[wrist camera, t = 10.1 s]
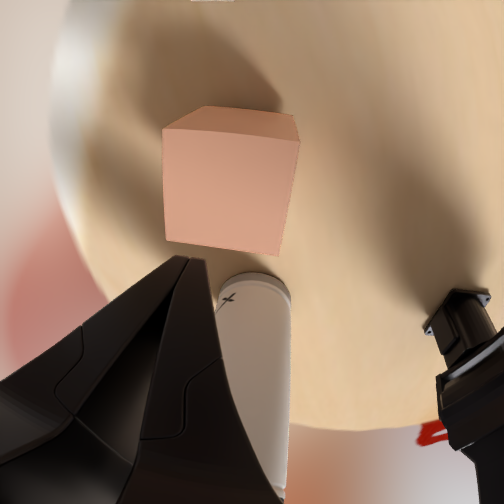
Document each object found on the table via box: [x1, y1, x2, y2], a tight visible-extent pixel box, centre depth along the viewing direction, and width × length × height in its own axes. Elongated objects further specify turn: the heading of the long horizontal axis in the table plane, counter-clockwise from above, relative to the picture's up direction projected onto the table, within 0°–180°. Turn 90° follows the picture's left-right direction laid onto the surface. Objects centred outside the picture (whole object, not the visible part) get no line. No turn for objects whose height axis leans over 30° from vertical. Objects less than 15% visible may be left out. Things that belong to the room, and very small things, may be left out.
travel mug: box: [215, 272, 291, 503], centre depth 17 cm, size 6×7×20 cm
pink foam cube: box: [162, 106, 300, 256], centre depth 14 cm, size 5×5×7 cm
